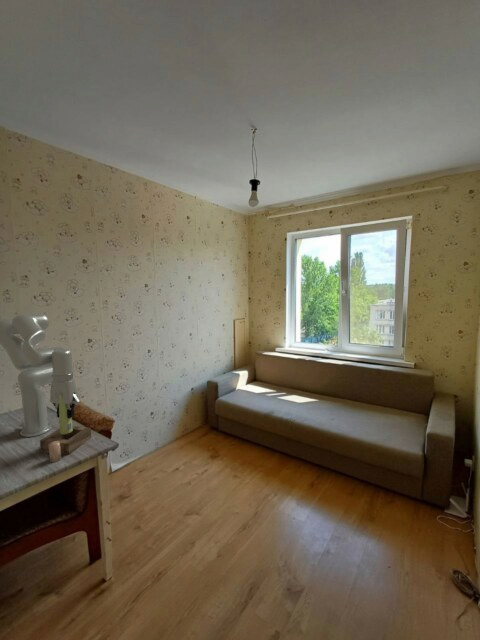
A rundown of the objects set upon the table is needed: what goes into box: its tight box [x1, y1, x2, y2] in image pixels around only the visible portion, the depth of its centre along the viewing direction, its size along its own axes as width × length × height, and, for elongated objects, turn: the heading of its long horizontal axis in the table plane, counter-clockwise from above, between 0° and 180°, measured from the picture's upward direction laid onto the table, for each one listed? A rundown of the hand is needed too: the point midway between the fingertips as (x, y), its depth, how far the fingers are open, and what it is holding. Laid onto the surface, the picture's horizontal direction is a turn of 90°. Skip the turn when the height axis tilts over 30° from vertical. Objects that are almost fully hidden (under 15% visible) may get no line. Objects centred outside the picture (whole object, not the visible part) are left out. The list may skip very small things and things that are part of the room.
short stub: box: [48, 441, 62, 463], centre depth 119 cm, size 4×4×7 cm
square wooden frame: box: [39, 425, 92, 455], centre depth 130 cm, size 14×14×5 cm
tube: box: [58, 393, 73, 434], centre depth 129 cm, size 6×5×20 cm
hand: (65, 416), depth 129 cm, fingers closed on tube, 4 cm apart
